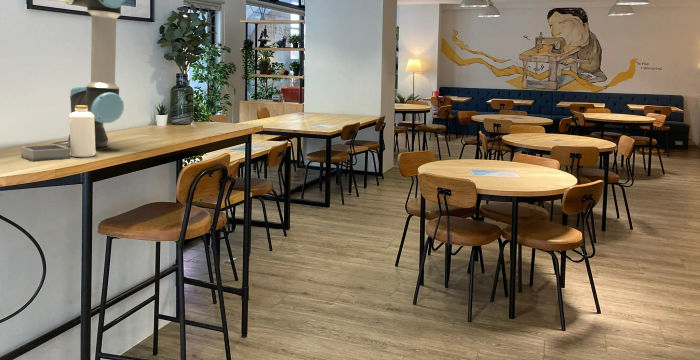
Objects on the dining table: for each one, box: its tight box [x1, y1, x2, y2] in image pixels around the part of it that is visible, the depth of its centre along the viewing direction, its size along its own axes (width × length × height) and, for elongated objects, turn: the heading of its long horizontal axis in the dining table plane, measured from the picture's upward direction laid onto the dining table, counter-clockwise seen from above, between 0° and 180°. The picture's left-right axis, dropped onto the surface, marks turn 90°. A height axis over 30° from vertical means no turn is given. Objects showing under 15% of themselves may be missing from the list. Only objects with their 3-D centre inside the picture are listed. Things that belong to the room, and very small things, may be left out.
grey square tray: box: [20, 144, 71, 162], centre depth 222 cm, size 12×12×4 cm
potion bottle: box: [68, 105, 97, 158], centre depth 227 cm, size 8×8×18 cm
